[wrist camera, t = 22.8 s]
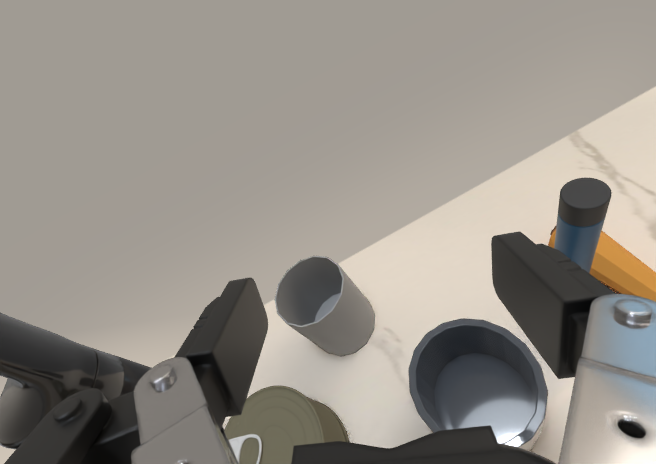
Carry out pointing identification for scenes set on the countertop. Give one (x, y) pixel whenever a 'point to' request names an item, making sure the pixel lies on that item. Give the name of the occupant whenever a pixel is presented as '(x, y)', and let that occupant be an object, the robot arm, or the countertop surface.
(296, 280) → the cup
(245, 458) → the can
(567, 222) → the marker
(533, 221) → the countertop surface
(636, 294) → the carrot
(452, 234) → the countertop surface
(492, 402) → the pen pot
